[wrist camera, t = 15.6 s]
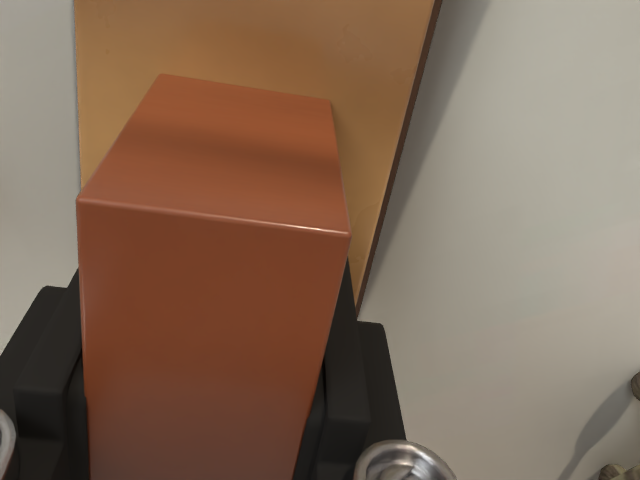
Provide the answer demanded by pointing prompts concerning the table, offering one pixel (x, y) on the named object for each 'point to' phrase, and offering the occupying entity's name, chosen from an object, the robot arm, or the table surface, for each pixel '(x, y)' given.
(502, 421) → the table surface
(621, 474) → the tabletop clock
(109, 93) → the brush
